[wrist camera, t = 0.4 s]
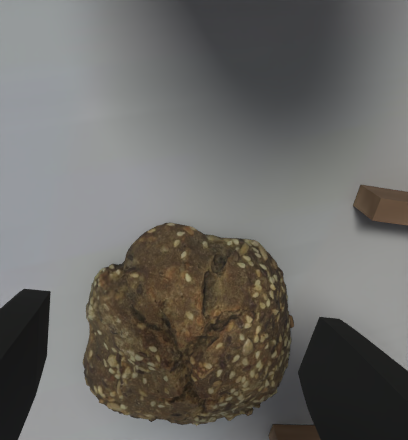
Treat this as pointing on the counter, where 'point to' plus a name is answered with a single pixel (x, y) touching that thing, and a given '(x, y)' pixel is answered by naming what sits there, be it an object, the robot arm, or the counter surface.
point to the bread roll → (188, 328)
